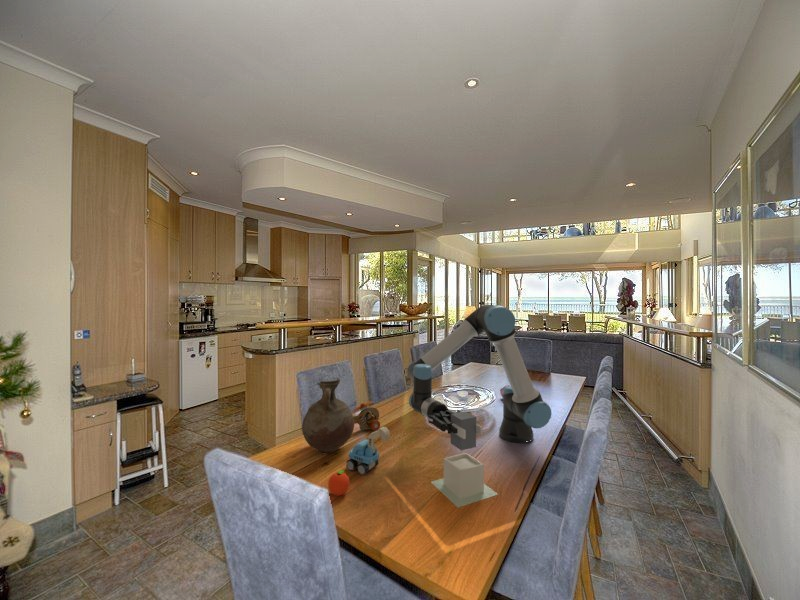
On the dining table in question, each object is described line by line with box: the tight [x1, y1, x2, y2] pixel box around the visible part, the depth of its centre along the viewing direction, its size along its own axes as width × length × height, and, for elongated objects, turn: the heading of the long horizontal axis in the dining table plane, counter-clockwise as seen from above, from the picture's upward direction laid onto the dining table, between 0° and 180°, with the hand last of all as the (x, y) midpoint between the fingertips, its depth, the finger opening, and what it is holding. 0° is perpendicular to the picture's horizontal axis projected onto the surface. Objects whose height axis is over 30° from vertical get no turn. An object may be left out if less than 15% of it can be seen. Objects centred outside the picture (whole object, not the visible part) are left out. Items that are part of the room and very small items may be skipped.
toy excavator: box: [346, 426, 391, 476], centre depth 129 cm, size 9×17×17 cm, turn 58°
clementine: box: [327, 470, 351, 497], centre depth 114 cm, size 8×7×7 cm
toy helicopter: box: [351, 400, 381, 432], centre depth 166 cm, size 8×21×14 cm, turn 121°
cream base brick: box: [443, 452, 485, 499], centre depth 115 cm, size 10×10×9 cm
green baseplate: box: [430, 477, 499, 508], centre depth 115 cm, size 16×16×1 cm
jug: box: [301, 377, 355, 455], centre depth 146 cm, size 22×22×30 cm
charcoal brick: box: [450, 411, 477, 451], centre depth 115 cm, size 6×6×10 cm
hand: (473, 432), depth 111 cm, fingers closed on charcoal brick, 6 cm apart
